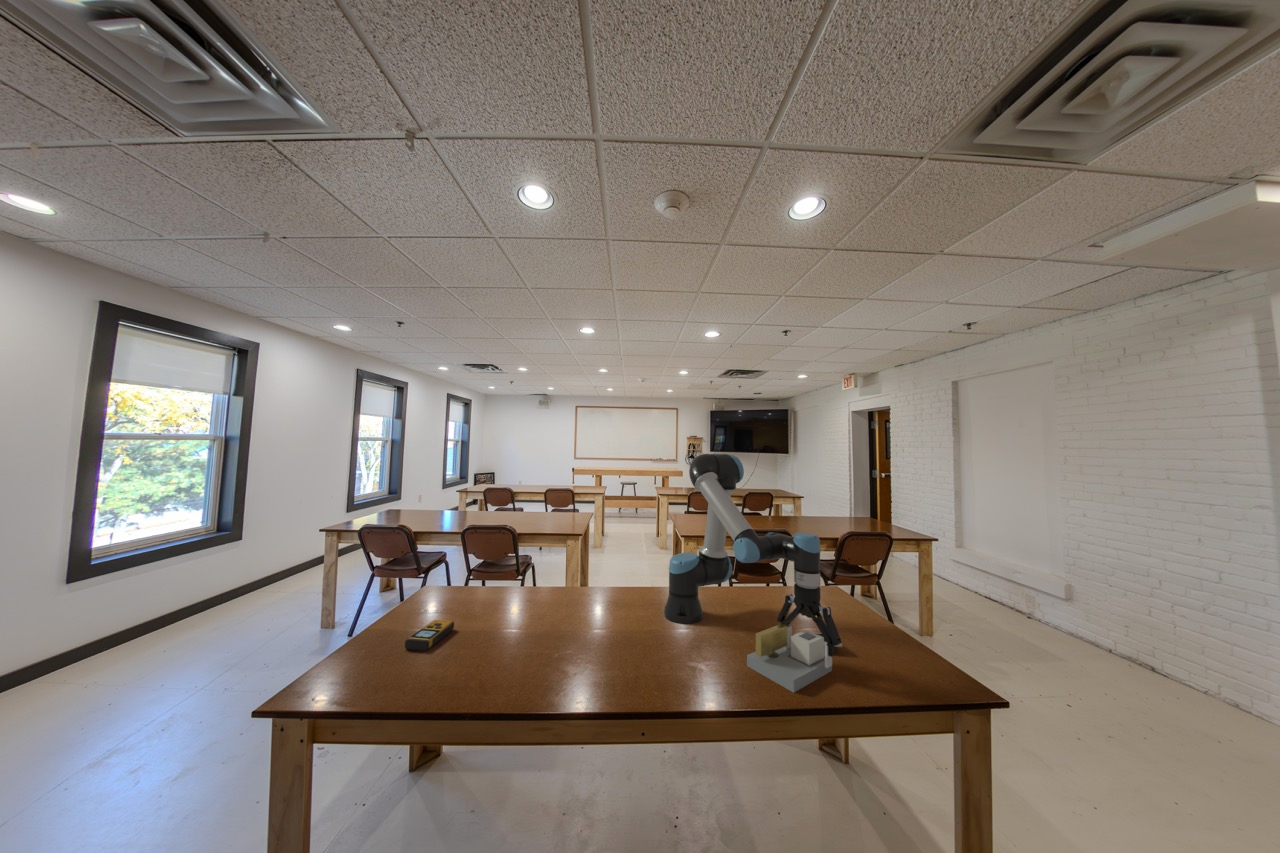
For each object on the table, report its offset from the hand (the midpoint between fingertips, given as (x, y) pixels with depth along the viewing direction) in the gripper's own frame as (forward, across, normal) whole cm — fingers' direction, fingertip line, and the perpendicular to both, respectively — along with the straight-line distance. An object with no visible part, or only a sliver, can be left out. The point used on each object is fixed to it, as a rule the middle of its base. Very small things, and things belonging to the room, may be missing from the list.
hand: (807, 656), depth 121 cm
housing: (+4, -3, -5) cm, 7 cm away
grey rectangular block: (0, 0, 0) cm, 0 cm away
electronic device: (+5, -86, -88) cm, 123 cm away
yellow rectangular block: (0, -7, -8) cm, 11 cm away
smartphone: (+2, 0, +14) cm, 14 cm away
